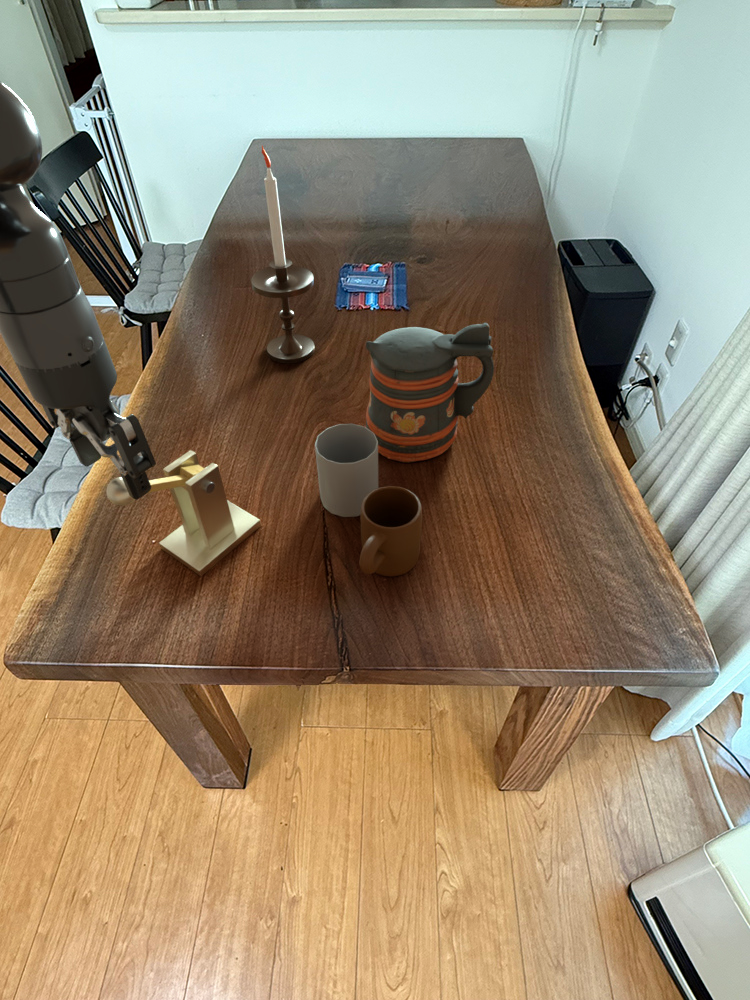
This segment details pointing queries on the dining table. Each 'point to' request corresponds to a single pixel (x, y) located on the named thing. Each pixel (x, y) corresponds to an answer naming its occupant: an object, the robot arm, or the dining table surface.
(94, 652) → the dining table surface
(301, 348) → the candlestick
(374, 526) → the mug
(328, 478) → the cup
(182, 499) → the switch bracket
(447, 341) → the beer stein
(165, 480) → the switch lever
